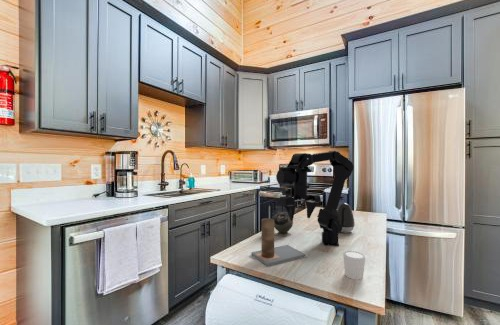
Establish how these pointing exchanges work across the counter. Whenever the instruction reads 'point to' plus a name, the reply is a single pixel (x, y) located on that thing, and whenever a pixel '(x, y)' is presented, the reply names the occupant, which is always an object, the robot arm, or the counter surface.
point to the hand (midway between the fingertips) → (300, 219)
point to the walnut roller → (267, 237)
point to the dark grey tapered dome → (345, 217)
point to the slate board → (279, 255)
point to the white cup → (354, 264)
